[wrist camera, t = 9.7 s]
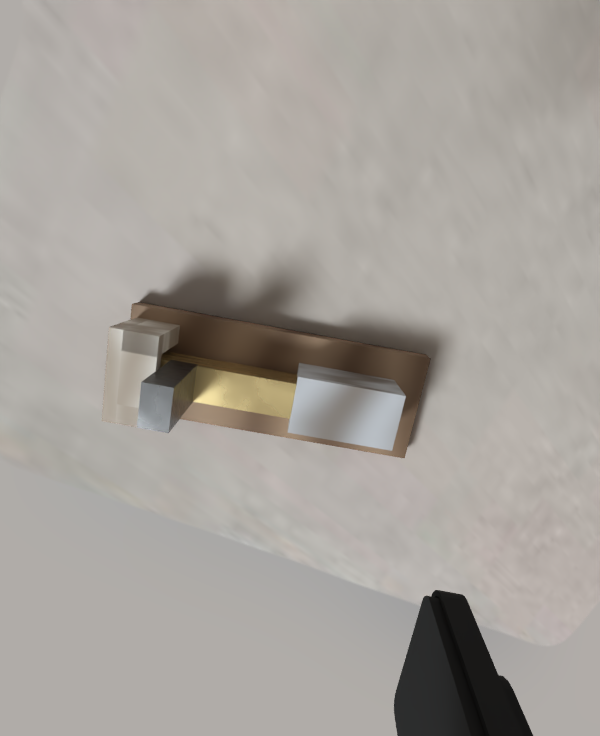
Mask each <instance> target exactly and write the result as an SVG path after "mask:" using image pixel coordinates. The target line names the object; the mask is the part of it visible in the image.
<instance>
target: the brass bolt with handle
mask: <svg viewBox="0 0 600 736" xmlns="http://www.w3.org/2000/svg"><path fill="white" fill-rule="evenodd" d="M297 376H298V375H297V374H292V373H286V372H281V371H275V370H269V369H264V368H258V367H253V366H247V365H242V364H236V363H231V362H225V361H219V360H214V359H208V358H203V357H197V356H192V355H186V354H181V353H175V352H169V351H166V352H164V353H163V354H162V355H161V364H160V368H159V369H158V370H157V371H155V372H154V373H153V374H151V375H150V376H149V377H147V378H146V379H145V380H143V381H142V382H141V389H140V400H139V410H138V420H137V428H143V429H148V430H154V431H160V432H165V433H169V432H170V431H171V429H172V428H173V427H174V425H175V424H176V423H177V422H178V420H179V419H180V418H181V417H182V415H183V414H184V413H185V411H186V410H187V409H188V408H189V406H190V405H191V404H192V403H193V402H197V403H203V404H209V405H214V406H220V407H226V408H231V409H237V410H243V411H248V412H254V413H260V414H265V415H271V416H277V417H282V418H288V419H290V416H291V411H292V406H293V400H294V395H295V390H296V384H297Z"/></svg>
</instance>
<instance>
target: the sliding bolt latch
mask: <svg viewBox="0 0 600 736" xmlns="http://www.w3.org/2000/svg"><path fill="white" fill-rule="evenodd" d="M166 351H169V352H175V353H181V354H186V355H192V356H197V357H203V358H208V359H214V360H219V361H225V362H231V363H236V364H242V365H247V366H253V367H258V368H264V369H269V370H275V371H281V372H286V373H292V374H297V375H298V376H297V384H296V390H295V395H294V400H293V406H292V411H291V416H290V419H288V418H282V417H277V416H271V415H265V414H260V413H254V412H248V411H243V410H237V409H231V408H226V407H220V406H214V405H209V404H203V403H197V402H193V403H192V404H191V405H190V406H189V408H188V409H187V410H186V411H185V413H184V414H183V415H182V417H181V418H180V419H183V420H189V421H195V422H200V423H206V424H212V425H217V426H223V427H229V428H235V429H240V430H246V431H252V432H257V433H263V434H269V435H274V436H280V437H286V438H292V439H297V440H303V441H309V442H314V443H320V444H326V445H332V446H337V447H343V448H349V449H354V450H360V451H366V452H371V453H377V454H383V455H389V456H394V457H400V458H405V454H406V450H407V447H408V443H409V439H410V435H411V431H412V428H413V424H414V420H415V416H416V412H417V409H418V405H419V401H420V397H421V393H422V390H423V386H424V382H425V378H426V374H427V371H428V367H429V363H430V358H429V357H428V356H427V355H424V354H419V353H413V352H408V351H402V350H397V349H392V348H386V347H381V346H375V345H370V344H364V343H359V342H353V341H348V340H342V339H337V338H332V337H326V336H321V335H315V334H310V333H304V332H299V331H293V330H288V329H282V328H277V327H271V326H266V325H261V324H255V323H250V322H244V321H239V320H233V319H228V318H222V317H217V316H211V315H206V314H201V313H195V312H190V311H184V310H179V309H173V308H168V307H162V306H157V305H151V304H146V303H140V302H138V303H134V304H132V309H131V320H128V321H125V322H123V323H120V324H117V325H114V326H111V327H109V331H108V345H107V358H106V371H105V384H104V397H103V410H102V421H104V422H110V423H115V424H121V425H127V426H133V427H137V420H138V410H139V400H140V389H141V382H142V381H143V380H145V379H146V378H147V377H149V376H150V375H151V374H153V373H154V372H155V371H157V370H158V369H159V368H160V364H161V355H162V354H163V353H164V352H166Z"/></svg>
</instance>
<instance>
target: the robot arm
mask: <svg viewBox="0 0 600 736" xmlns="http://www.w3.org/2000/svg"><path fill="white" fill-rule="evenodd" d="M394 714H395V721H396V728H397V735H398V736H533V734H532V732H531V730H530V728H529V725H528V723H527V721H526V718H525V716H524V714H523V711H522V709H521V707H520V705H519V702H518V700H517V698H516V695H515V693H514V691H513V689H512V687H511V686H510V683H509V682H508V681H507V680H506V679H505V678H504V677H503V676H499V675H498V674H497V671H496V669H495V666H494V664H493V662H492V659H491V657H490V654H489V652H488V650H487V647H486V645H485V642H484V640H483V638H482V635H481V633H480V631H479V628H478V626H477V623H476V621H475V618H474V616H473V614H472V611H471V609H470V606H469V604H468V602H467V600H466V598H465V596H463V595H461V594H456V593H450V592H445V591H440V590H435V591H434V592H433V594H432V596H431V597H430V596H425V597H424V598H423V601H422V604H421V608H420V611H419V615H418V618H417V621H416V625H415V628H414V632H413V635H412V638H411V642H410V645H409V649H408V652H407V655H406V659H405V662H404V666H403V669H402V673H401V676H400V680H399V683H398V686H397V690H396V693H395V700H394Z"/></svg>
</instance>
